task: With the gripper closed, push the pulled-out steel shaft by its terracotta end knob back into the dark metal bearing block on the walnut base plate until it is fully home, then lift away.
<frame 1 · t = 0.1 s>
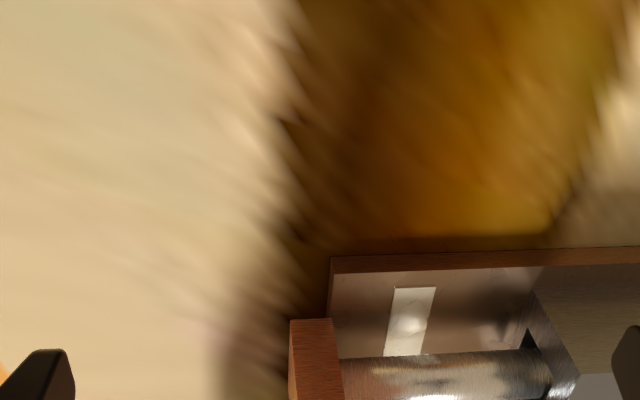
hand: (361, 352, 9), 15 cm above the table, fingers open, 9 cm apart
bearing housing: (505, 318, 32), on the table
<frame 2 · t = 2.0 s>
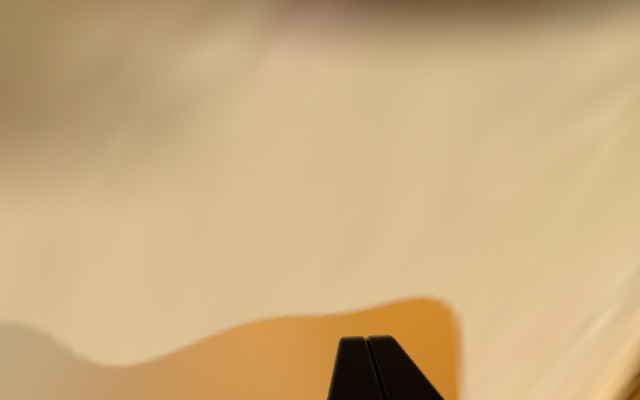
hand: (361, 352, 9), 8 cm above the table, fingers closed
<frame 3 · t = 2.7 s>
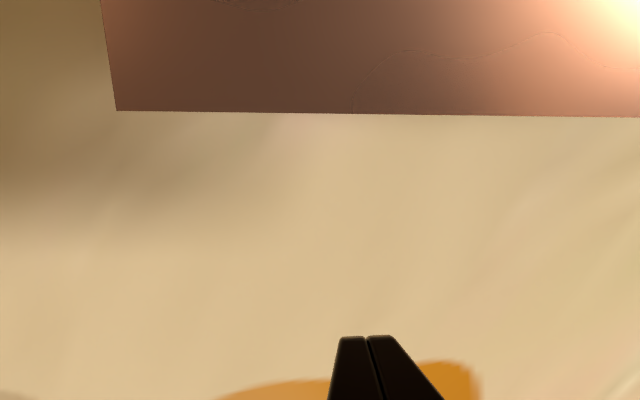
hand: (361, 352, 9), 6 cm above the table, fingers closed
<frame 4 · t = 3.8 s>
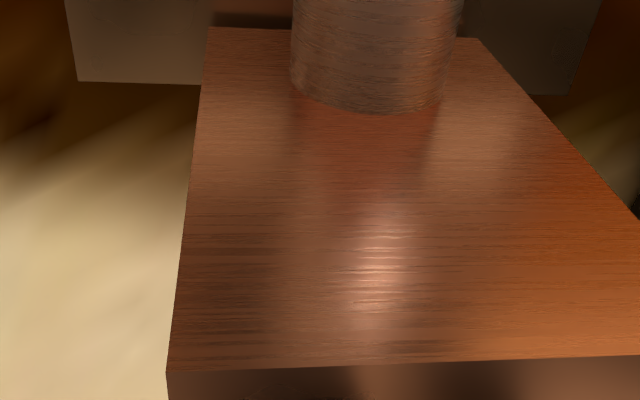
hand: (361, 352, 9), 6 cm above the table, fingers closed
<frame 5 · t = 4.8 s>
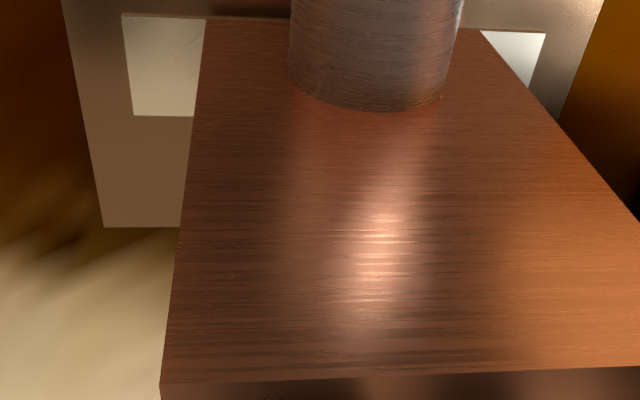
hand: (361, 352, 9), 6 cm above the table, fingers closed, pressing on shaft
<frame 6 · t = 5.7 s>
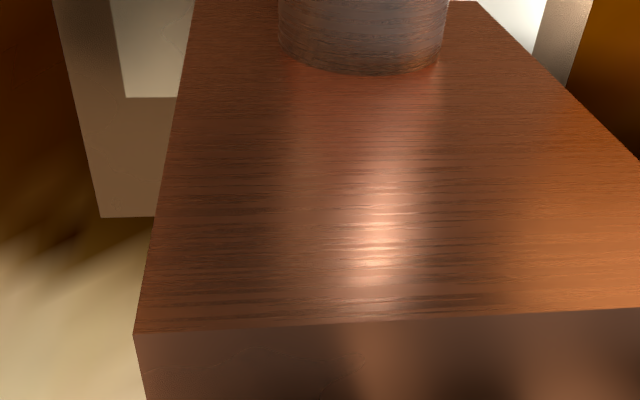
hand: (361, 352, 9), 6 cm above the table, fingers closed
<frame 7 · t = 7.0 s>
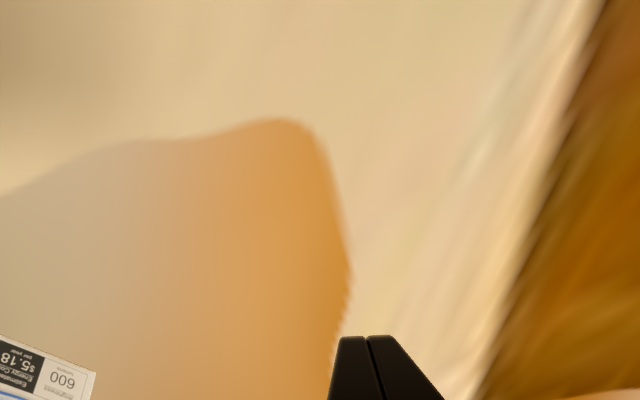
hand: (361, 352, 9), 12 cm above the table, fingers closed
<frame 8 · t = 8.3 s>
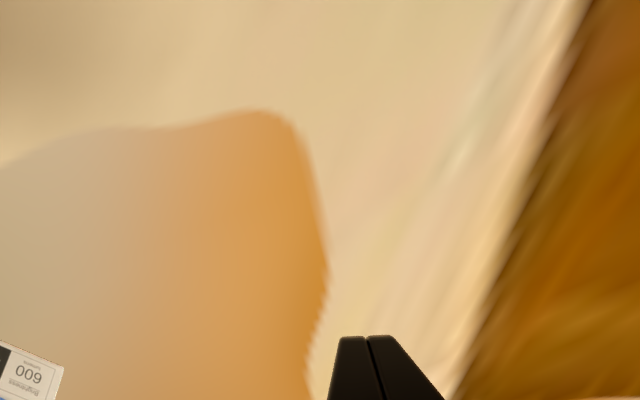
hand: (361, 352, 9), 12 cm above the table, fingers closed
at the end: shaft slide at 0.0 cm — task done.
